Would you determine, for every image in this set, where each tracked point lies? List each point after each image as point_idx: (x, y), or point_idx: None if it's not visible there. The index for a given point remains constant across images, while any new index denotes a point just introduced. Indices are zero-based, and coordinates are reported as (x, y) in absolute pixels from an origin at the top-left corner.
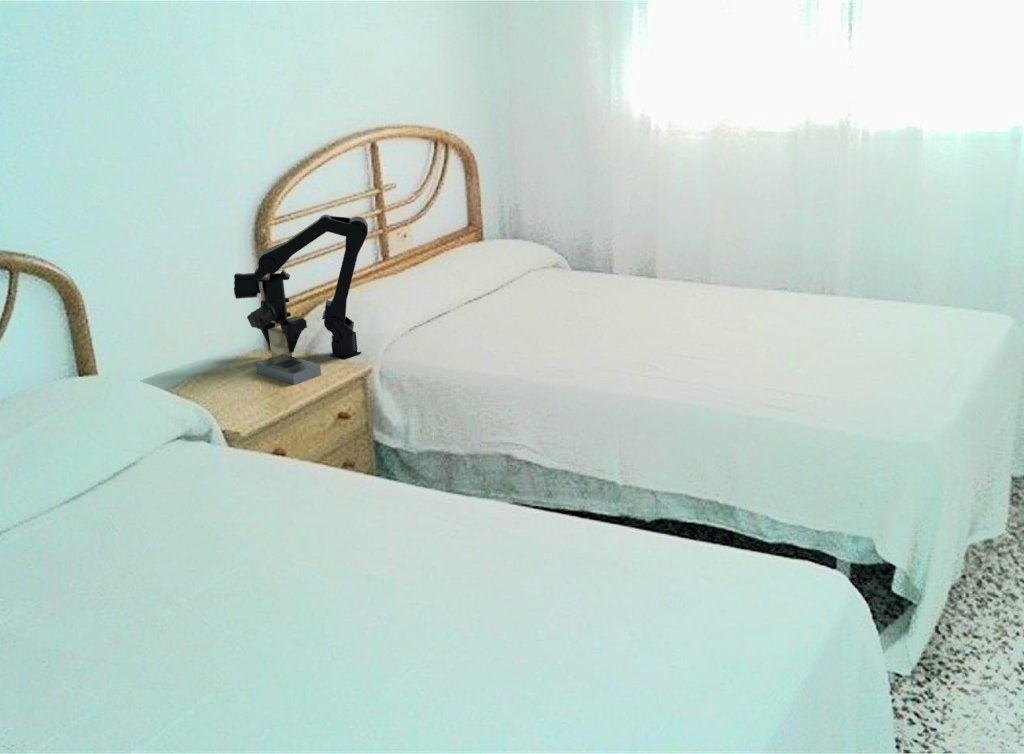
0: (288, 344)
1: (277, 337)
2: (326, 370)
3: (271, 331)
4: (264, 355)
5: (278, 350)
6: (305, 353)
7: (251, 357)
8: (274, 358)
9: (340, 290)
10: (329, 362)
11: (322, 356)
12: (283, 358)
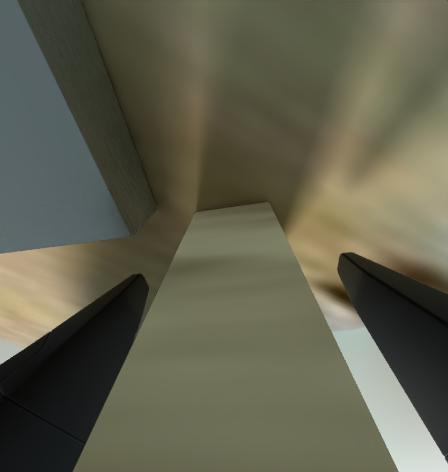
0: (82, 317)
1: (134, 349)
2: (5, 279)
3: (264, 449)
4: (380, 215)
5: (189, 246)
6: None
7: (441, 143)
8: (47, 141)
9: None
10: None
11: None
12: (19, 193)
